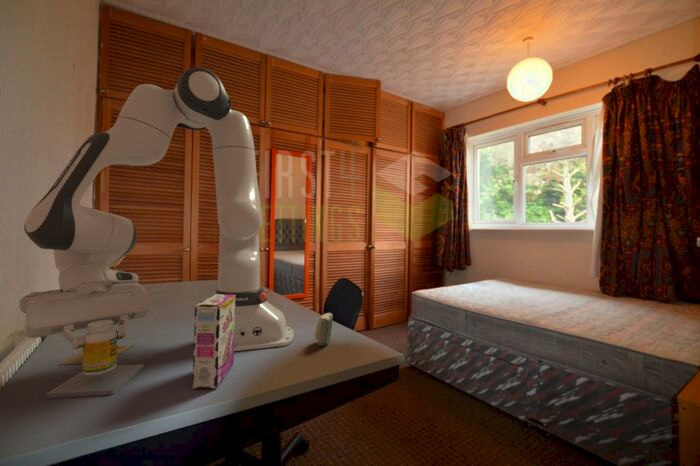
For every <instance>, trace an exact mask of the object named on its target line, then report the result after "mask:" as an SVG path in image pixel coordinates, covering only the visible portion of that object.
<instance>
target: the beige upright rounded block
mask: <svg viewBox="0 0 700 466" xmlns="http://www.w3.org/2000/svg"><path fill="white" fill-rule="evenodd" d="M333 317H334V316H333V313H331V312H326V313H324V314H322V315H321V316H320V317H319V319H318V322H317V325H316V328H315V332H314V337H315V340H316V342H317V343H316V345H317V346H318V347H321V348H326V347H327V346H328V345H329V343H330V342H331V337H332V330H333V329H332V327H333V322H334V321H333Z"/></svg>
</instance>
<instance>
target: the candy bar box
mask: <svg viewBox="0 0 700 466" xmlns="http://www.w3.org/2000/svg"><path fill="white" fill-rule="evenodd" d="M235 296H236V295H233V294H216V293H215V294H213V295H211V296H210V297H208V298H207V299H204V300H203V301H200V302H198V303H197V304H195V305H194V322H193V323H194V331H193V332H194V333H193V361H192V363H193V364H192V390H215V389H218V388H219V386H220V385H221V382H222V381H223V380H224V378H225V377H226V375H227V374H228V373H229V371H230V369H231V368H232V367H233V366H234V359H235V357H234V356H235V351H234V325H235Z"/></svg>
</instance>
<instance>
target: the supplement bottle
mask: <svg viewBox="0 0 700 466" xmlns="http://www.w3.org/2000/svg"><path fill="white" fill-rule="evenodd" d="M113 328H114V323H113V321H112V320H100V321H94V322H91V323H89V324H88V325H87V328H86V329H87V333H86V334H85V335H83V337H84V341H85V345H84V347H83V348H82V351H83V357H82V364H81V368H82V370H81V372H83V374H85V375H89V376H93V375H99V374H103V373H107V372H109V371H111V370H113V369H114V368H115V367H116V365H117V357H118V356H117V346H118V340H117V333H116V330H114V329H113Z"/></svg>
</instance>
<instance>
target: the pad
mask: <svg viewBox="0 0 700 466" xmlns="http://www.w3.org/2000/svg"><path fill="white" fill-rule="evenodd" d="M145 366H146V365H145V364H141V363H140V364H120V365H119V364H118V365H117V364H116V367H115V368H114V369H113V370H111V371H109V372H107V373H103V374H99V375H93V376H89V375H85V374H83V372H82V371H80V372H78V373H77V374H75V375H74V376H72V377H70V378H69V379H68V380H65V381H64V382H63V383H61V384H60V385H58V386H56V387H54V388H53V389H52V390H50V391H48V392H47V393H46V394H45V395H46V397H45V398H46V399H55V398H56V399H57V398H58V399H59V398H72V397H73V398H75V397H88V396H89V397H90V396H91V397H92V396H94V397H95V396H108V395H109V396H111V395H115V394H116V393H117V392H118V391H119V390H120V389H122V388H123V387H124V386H126V384H128V383H129V382H130V381H131V380H132V379H133V378H135V377H136V376H137V375H138V374H139V373H140V372H142V371H143V370H144V369H145Z"/></svg>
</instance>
